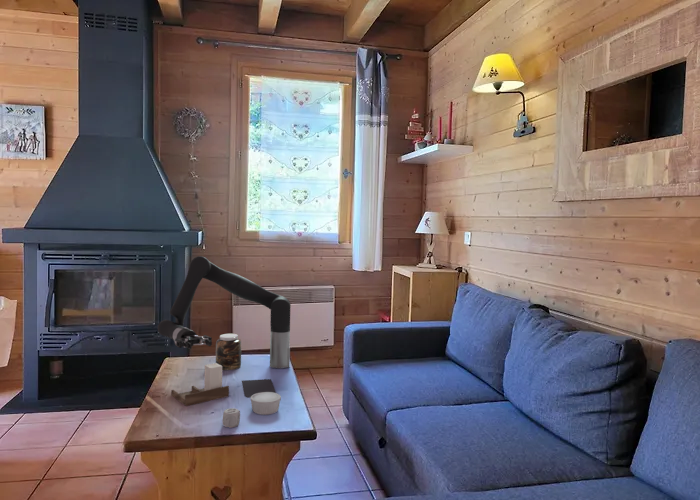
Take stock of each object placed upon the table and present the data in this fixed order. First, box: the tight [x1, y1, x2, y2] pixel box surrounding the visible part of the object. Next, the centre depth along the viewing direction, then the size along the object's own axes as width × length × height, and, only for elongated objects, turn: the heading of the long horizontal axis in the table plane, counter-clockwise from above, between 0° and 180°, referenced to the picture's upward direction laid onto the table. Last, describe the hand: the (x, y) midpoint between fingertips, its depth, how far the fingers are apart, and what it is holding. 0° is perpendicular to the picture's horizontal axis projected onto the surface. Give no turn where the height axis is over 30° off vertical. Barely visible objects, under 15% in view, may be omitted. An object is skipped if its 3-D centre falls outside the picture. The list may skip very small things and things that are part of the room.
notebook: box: [241, 378, 277, 399], centre depth 213 cm, size 13×2×21 cm
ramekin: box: [250, 392, 282, 416], centre depth 191 cm, size 11×11×5 cm
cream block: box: [203, 362, 223, 391], centre depth 202 cm, size 5×5×12 cm
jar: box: [215, 333, 242, 371], centre depth 243 cm, size 12×12×15 cm
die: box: [221, 407, 241, 429], centre depth 177 cm, size 5×5×5 cm
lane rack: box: [170, 385, 230, 407], centre depth 201 cm, size 14×17×5 cm
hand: (200, 345), depth 209 cm, fingers open, 8 cm apart
